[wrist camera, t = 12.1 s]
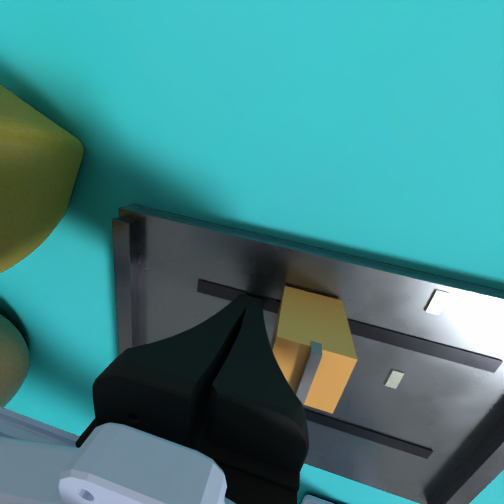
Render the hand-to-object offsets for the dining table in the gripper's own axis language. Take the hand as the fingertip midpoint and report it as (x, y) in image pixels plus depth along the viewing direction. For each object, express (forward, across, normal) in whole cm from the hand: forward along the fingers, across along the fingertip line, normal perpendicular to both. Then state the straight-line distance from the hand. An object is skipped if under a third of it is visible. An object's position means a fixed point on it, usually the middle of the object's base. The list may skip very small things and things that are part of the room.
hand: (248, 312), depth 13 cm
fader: (+1, -3, 0) cm, 3 cm away
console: (+2, -4, +4) cm, 6 cm away
